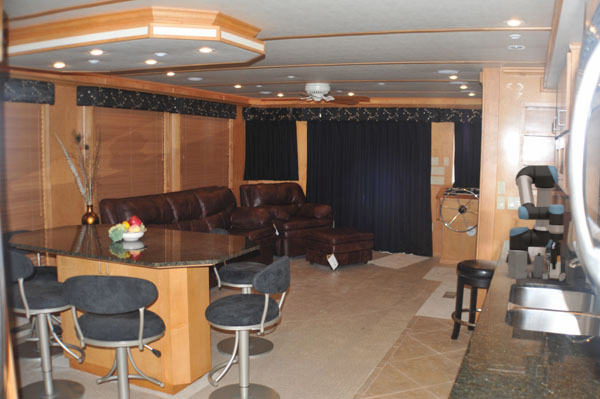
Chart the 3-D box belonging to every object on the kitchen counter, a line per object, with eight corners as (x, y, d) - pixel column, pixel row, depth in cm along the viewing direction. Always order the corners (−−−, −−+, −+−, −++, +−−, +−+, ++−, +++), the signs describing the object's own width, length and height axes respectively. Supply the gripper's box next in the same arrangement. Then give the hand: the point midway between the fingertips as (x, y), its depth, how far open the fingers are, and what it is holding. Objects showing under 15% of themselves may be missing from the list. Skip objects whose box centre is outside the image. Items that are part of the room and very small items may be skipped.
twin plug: (535, 275, 304) (535, 252, 303) (544, 276, 301) (544, 252, 300) (533, 277, 300) (533, 253, 299) (542, 278, 297) (542, 253, 297)
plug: (560, 277, 296) (560, 252, 295) (558, 278, 292) (559, 253, 291) (551, 276, 298) (552, 252, 298) (549, 277, 295) (550, 253, 294)
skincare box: (515, 280, 295) (515, 251, 294) (506, 277, 302) (507, 249, 301) (528, 279, 297) (528, 251, 297) (519, 276, 304) (520, 249, 303)
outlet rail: (532, 275, 307) (532, 269, 306) (565, 279, 296) (565, 273, 296) (528, 278, 299) (528, 272, 299) (561, 282, 289) (561, 275, 289)
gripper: (552, 230, 303) (551, 271, 304) (544, 233, 289) (544, 276, 290) (566, 231, 299) (565, 272, 300) (560, 234, 285) (559, 277, 286)
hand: (555, 274), depth 295 cm, fingers closed on plug, 4 cm apart
